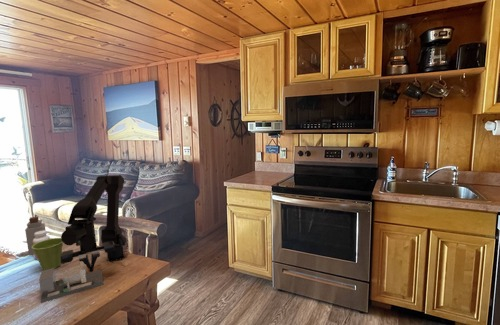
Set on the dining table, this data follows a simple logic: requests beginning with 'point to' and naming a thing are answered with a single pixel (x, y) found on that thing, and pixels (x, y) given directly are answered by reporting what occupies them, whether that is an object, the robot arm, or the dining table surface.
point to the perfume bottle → (32, 228)
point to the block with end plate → (75, 276)
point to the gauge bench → (52, 286)
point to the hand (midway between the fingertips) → (91, 271)
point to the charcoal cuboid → (60, 287)
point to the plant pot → (49, 253)
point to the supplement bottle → (39, 239)
